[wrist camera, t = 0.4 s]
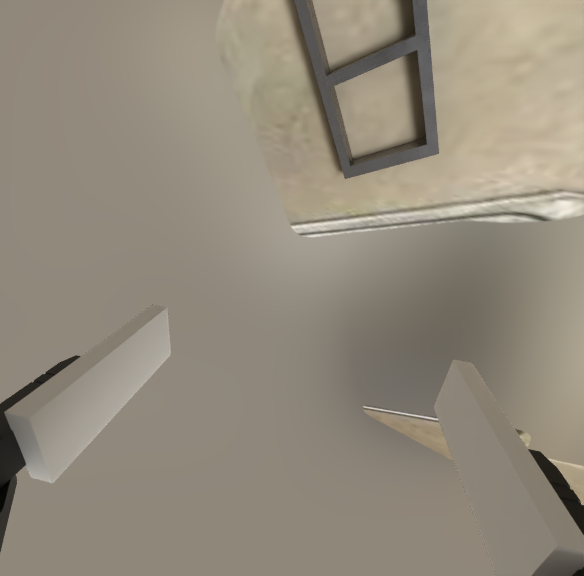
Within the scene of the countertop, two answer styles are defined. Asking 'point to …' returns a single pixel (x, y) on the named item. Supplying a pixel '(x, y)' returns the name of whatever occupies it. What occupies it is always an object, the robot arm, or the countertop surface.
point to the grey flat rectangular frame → (361, 66)
